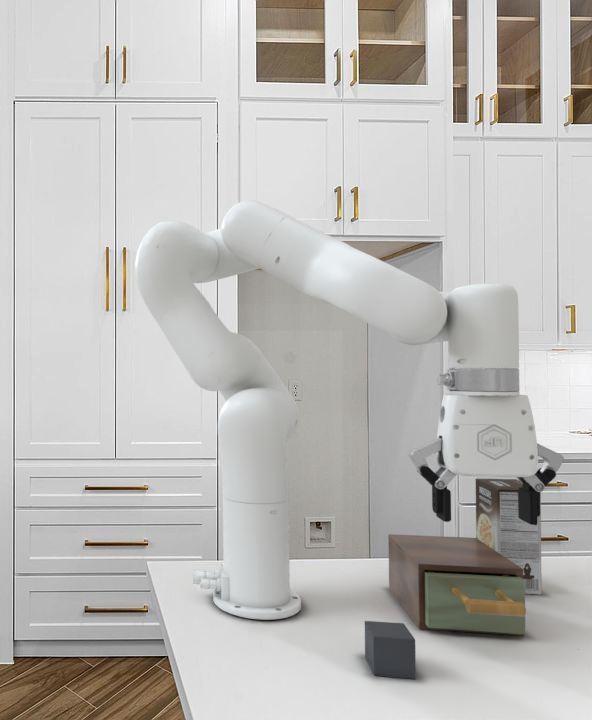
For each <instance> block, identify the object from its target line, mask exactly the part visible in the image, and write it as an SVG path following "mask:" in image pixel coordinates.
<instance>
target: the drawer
mask: <svg viewBox="0 0 592 720" xmlns="http://www.w3.org/2000/svg"><path fill="white" fill-rule="evenodd" d="M526 615H527V609H526V594H525V580H523V579H522V578H520V577H509V574H494V573H474V572H454V571H434V570H425V624H426V625H427V627H428V628H439V629H455V630H470V631H485V632H500V633H515V634H524V635H526V632H527V631H526Z"/></svg>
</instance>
